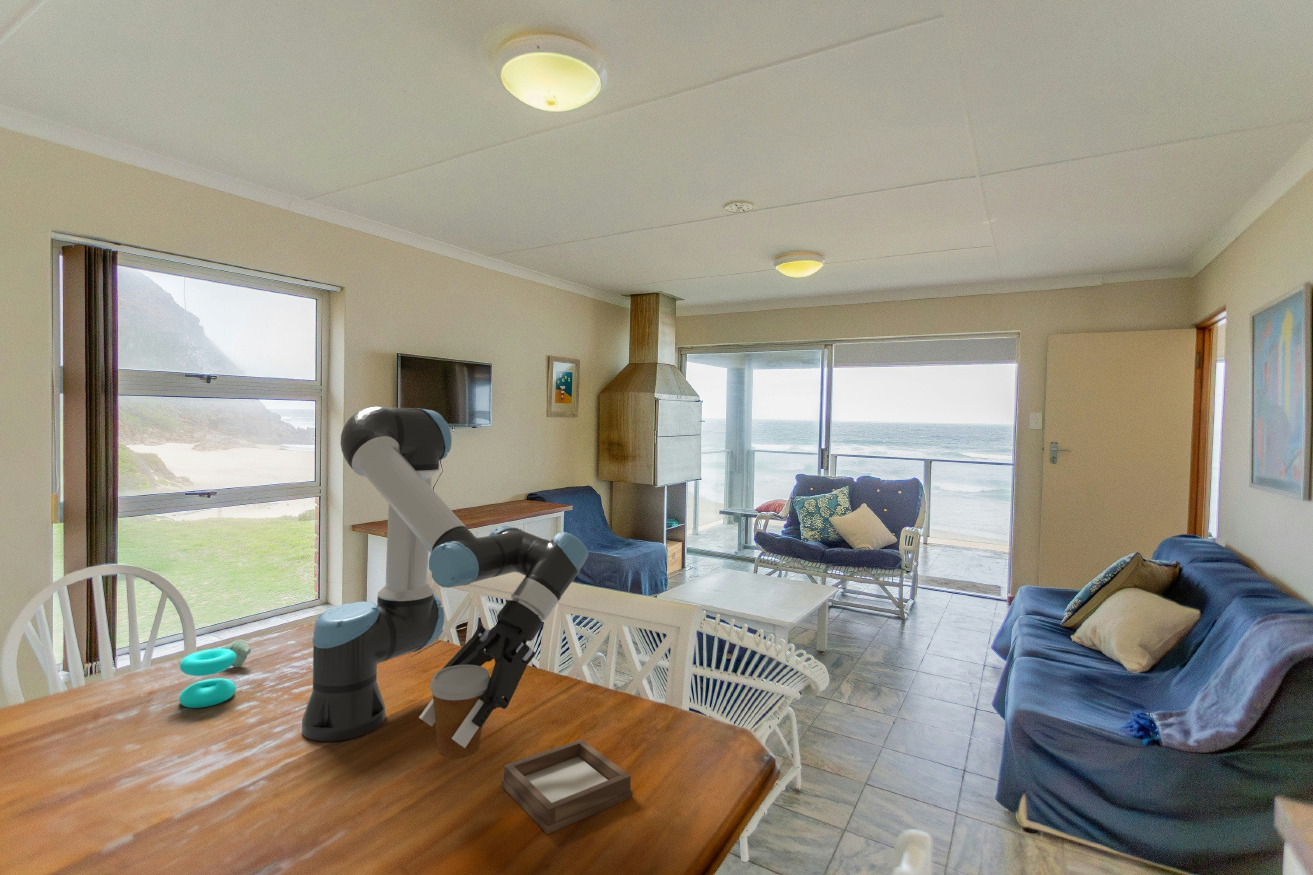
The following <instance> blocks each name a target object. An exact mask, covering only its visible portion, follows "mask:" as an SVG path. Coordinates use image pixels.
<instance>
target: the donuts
mask: <svg viewBox="0 0 1313 875" xmlns="http://www.w3.org/2000/svg"><path fill="white" fill-rule="evenodd" d="M235 660H236V654H235V652H234V651H232V650H230V649H224V648H222V647H220V648H208V649H203V650H198V651H195V652H193V653H191V654H188V655H187V656H185V657H184V658H182V660H181V662H180V663H179V669H180V671H181V672H182V673H183V674H185V675H186V676H188V675H189V676H192V677H193V676H194V677H204V676H209V675H215V674H218V673H221V672H223V671H225V670H228V669H229V668H230V667H233V666H232V665H233V664H234V662H235ZM235 693H236V684H235V683H234V682H233V681H232V680H229V679H227V678H222V677H220V678H218V677H217V678H209V679H204V680H200V681H197V682H194V683H192V684H190V685H188V686H187V687H186V688H184V689H182V691H181V692H180V695H179V699H178V701H179V703H180V704H181V705H182V706H183V707H186V708H192V709H199V708H200V709H201V708H206V707H211V706H215V705H218V704H221V703H224V702H226V701H228V700H229V699H231V698H232V697H233V696H234V694H235Z"/></svg>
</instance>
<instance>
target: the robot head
mask: <svg viewBox="0 0 1313 875" xmlns="http://www.w3.org/2000/svg"><path fill="white" fill-rule="evenodd" d="M221 648H224V649H230V650H232V651H234V652H235V654H236V660H235V662H234V664H233V665H232V666H231V667H234V668H236V669H237V668H240V667H242V665H244V663H245V662H246V660H247V658H248V655H250V653H251V652H252V651H251V648H250V647H249V643H248V642H247V641H246V640H245V639H242V638H241V639H240V638H239V639H236V640H234V641H233V642H231V643H229V644H227V645H224V646H222V647H221Z"/></svg>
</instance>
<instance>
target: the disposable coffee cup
mask: <svg viewBox="0 0 1313 875" xmlns="http://www.w3.org/2000/svg"><path fill="white" fill-rule="evenodd" d="M490 678H491V676H490V672H489V670H488V669H486V668H485V667H484V666H477V665H456V666H451V667H447V668H444V669H442V668H441V669H440V670H437V672H435V673H434V674H433V676H432V680H431V681H430V682H429V690H430V691H431V694H432V699H433V702H434V712H435V723H434V724H435V730H436V731H435V732H436V741H437V752H438V754H439V756H441V757H443V758H445V759H451V760H454V759H455V760H456V759H457V760H458V759H463V758H467V757H470V756H472V755H473V754H475V753H476V752H478V750H479V748H480V743H481V735H482V730H483V725H482V726H481V727H479V728H478V729H477V731H476V732H475V734H474V735H473V737H472V738H471V740H470V741H469V743H468V744H467V746H466V747H465V748H464V747H462V746H461V745H460V744H458V743H457V742H455V741H454V740H453V739H452V737H453V736H454V734H455V733H456V731H457V730H458V728H459V727H460V726H461V724H462V723H463V721H464V720H465V718H466V717H467V715H468V714H469V712H470V711H471V710H472V708H473V707H474V705H475V704H476V702H477V701H478V699H480V700H481V701H483V700H482V699H481V696H485V693H486V690H487V687H488V684H489V681H490ZM483 702H484V701H483Z"/></svg>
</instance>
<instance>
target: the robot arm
mask: <svg viewBox="0 0 1313 875" xmlns="http://www.w3.org/2000/svg"><path fill="white" fill-rule="evenodd" d="M452 440H453V439H452V434H451V429H450V426H449V423H448V422H447V421H446V420H445V419H444V417H443V415H441V413H439V412H437V411H435V410H432V409H425V408H419V407H417V408H416V407H415V408H414V407H413V408H412V407H411V408H410V407H386V406H370V407H365V408H363V409H360V410H359V411H357V412H355V413H354V414H352V415H351V416H350V417H349V418H348V420H347V421H346V423H345V424H344V425H343V427H342V431H341V434H340V442H339V443H340V448H341V452H342V454H343V457H344V460H345V461H346V462H347V464H348V465H349V467H350V469H352V470H353V472H354V473H355V474H356V475H358V476H360V477H364V478H366V479H367V480H368V481H370V483H371V484H372V485H373V487H374V488H375V489H376V491H378V493H379V494H380V495H381V496H382V497H383V499H384V500H385V501H386V502H387V504H388V510H387V511H388V512H387V513H388V514H387V537H386V538H387V539H386V542H387V543H386V563H385V565H386V567H385V585H384V586H383V587H382V588H380V590H379V591H378V592H377V598H376V599H377V600H376V603H374V602H371V601H355V602H353V603H351V602H348V603H343V604H340V605H337V606H334V607H332V608H329V609H328V610H325V611H324V612H322V613H321V614H320V615H319V616H318V618H317V619H316V620H315V622H314V629H313V636H312V644H313V646H312V647H313V648H312V649H313V650H312V651H313V654H312V656H313V657H312V692H311V694H310V697H309V700H308V702H307V704H306V705H307V706H306V708H305V711H304V713H303V716H302V721H301V733H302V734H301V735H303V736H304V737H305V738H306V739H308V740H311V741H317V742H324V743H325V742H329V743H330V742H340V741H345V740H351V739H355V738H358V737H361V736H363V735H366V734H369V733H370V732H372V731H375V730H376V729H377V728H379V727H380V726H382V724H383V723H384V721H385V719H386V705H385V701H384V698H383V696H382V693H381V690H380V687H379V684H378V681H377V680H378V678H377V674H378V672H377V671H378V670H377V669H378V664H381V663H384V662H386V661H388V660H393V659H396V658H398V657H401V656H405V655H407V654H410V653H416V652H419V651H420V650H422V649H424V648H426V647H429V646H431V645H433V643H435V641H437V640H438V639H439V637H440V635H441V633H442V631H443V628H444V625H445V610H444V607H443V606H442V601H441V600H440V598H439V597H437V595H435V589H434V588H433V587H432V586H431V585H429V584H428V572H429V571H430V572H431V578H432V580H433V581H434V582H435V583H436V584H437V585H438V586H440V587H442V588H448V589H449V588H454V587H460V586H461V587H463V586H464V587H465V586H468V585H470V584H472V583H476V582H480V581H484V580H487V579H491V578H495V577H500V576H504V575H508V574H511V573H519V574H520V575H522V576H524V578H523V579H522V580H521V582H520V583H519V584H518V586H517V587H516V589H514V591H513V593H512V594H511V595H510V600H507V601H506V603H505V604H504V605H503V607H502V608H501V609H500V610H499V612H498V613H497V615H496V620H497V621H496V624H495V625H494V626H493V627H492V628H490V629H487V628H485V626H483V625H480V626H478V627H477V629H476V630H475V631H474V633H473V635H472V637H471V638H470V639H469V640H467V642H466V643H465V644H464V645H463V646H462V647H461V648H460V649H459V650H458V652H457V653H455V655H453V657H452V658H451V659H450V660H449V661H448V662H447V663H446V664H445V665H444V666H443V668H441V669H444V668H447V667H451V666H456V665H477V666H481V667H483V665H484V664H485V663H491V661H492V660H494V665H493V668H492V672H491V675H490V681H489V684H488V687H487V690H486V693H485V696H481V699H482V700H483V701H484V702H483V701H481V700H480V699H478V701H477V702H476V704H475V705H474V707H473V708H472V710H471V711H470V712H469V714H468V715H467V717H466V718H465V720H464V721H463V723H462V724H461V726H460V727H459V728H458V730H457V731H456V733H455V734H454V736H453V737H452V739H453V740H454V741H455V742H457V743H458V744H460V745H461V746H462V747H464V748H465V747H466V746H467V744H468V743H469V741H470V740H471V738H472V737H473V735H474V734H475V732H476V731H477V729H478V728H479V727H481V726H482V727H483V726H484V725H485V723H486V721H487V720H488V719H489V717H490V715H491V714H492V712H493V711H494V710H496V709H500V708H501V710H502V709H503V710H506V709H507V708H508V706H510V705H509V704H510V702H511V701H512V698H513V696H514V693H516V692H515V691H516V690H517V687H518V685H519V684H520V681H521V679H522V677H523V675H524V673H525V672H526V671H525V670H526V669H527V667H528V666H529V663H530V662H532V660H533V658H534V657H535V656H536V652H535V651H534V650H533V649H532V648H531V647H530V646H529V644H527V642H531V641H533V640H534V639H535V637H536V636H537V635H538V633H539V631H540V630H541V628H542V627H543V621H547V619H548V618H549V616H550V615H551V614H552V611H553V610H554V608H556V606H557V604H558V603H559V601H560V600H561V599H562V596H563V595H564V594H565V592H566V590H567V589H568V588H569V587H570V585H571V584H572V582H573V581H574V580H575V578H576V577H577V576H578V575H579V573H580V572H581V569H582V568H583V566H584V564H585V562H586V561H587V559H588V557H589V550H588V548H587V546H586V545H585V543H584V542H582V540H581V539H580V538H578V537H577V536H575V535H573V534H572V533H569V532H567V531H559V532H557V533H556V534H555V535H554V536H552V538H551V540H549V539H545V538H541V537H539V536H537V535H534V534H531V533H529V532H526V531H524V530H522V529H520V528H518V527H513V526H508V525H501V526H498V527H496V529H494V530H493V531H491V532H490V533H489V535H487V536H481V537H480V536H479V537H476V536H475V535H474V534H473V533H472V531H470V529H469V528H468V527H467V526H466V525H465V524H464V523H463V522H462V521H461V519H460V518H459V517H458V516H457V515H456V514H455V513H454V511H452V509H451V508H450V507H449V506H448V505H447V504H446V503H445V501H443V500H442V498H441V497H440V496H439V495H438V493H437V492H435V491H434V490H433V488H432V478H433V476H434V475H436V474H437V473H438V472H439V471H440V470H439V469H440V461H442V460H444V459H445V458H446V457H447V456H448V453H450V451H451V448H452ZM429 553H430V555H429ZM418 718H419V719H420V720H422V721H423V722H424V723H426V724H427V725H429V726H430V727H433V726H434V725H435V724H436V723H435V712H434V702H433V698H432V699H431V700H430V702H429V703H428V705H427V706H426V707H425V708H424V709H423V711H422V713H421V714H420V715H419V717H418Z"/></svg>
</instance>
